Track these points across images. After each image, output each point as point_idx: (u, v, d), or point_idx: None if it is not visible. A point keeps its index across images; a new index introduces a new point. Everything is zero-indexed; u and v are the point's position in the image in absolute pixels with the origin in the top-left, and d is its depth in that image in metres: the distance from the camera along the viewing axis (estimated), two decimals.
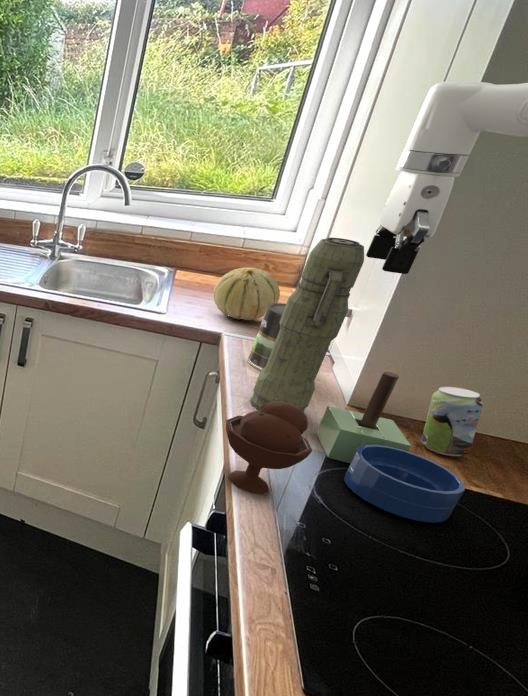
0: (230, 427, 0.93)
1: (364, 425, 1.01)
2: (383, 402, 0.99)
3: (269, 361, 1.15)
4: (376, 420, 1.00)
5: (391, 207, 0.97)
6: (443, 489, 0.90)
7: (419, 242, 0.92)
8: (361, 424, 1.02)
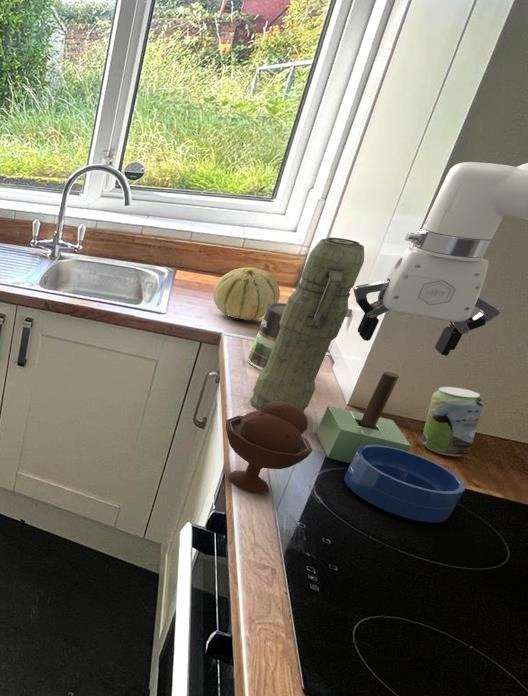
0: (230, 427, 0.93)
1: (364, 425, 1.01)
2: (383, 402, 0.99)
3: (269, 361, 1.15)
4: (376, 420, 1.00)
5: None
6: (443, 489, 0.90)
7: (358, 303, 0.97)
8: (361, 424, 1.02)
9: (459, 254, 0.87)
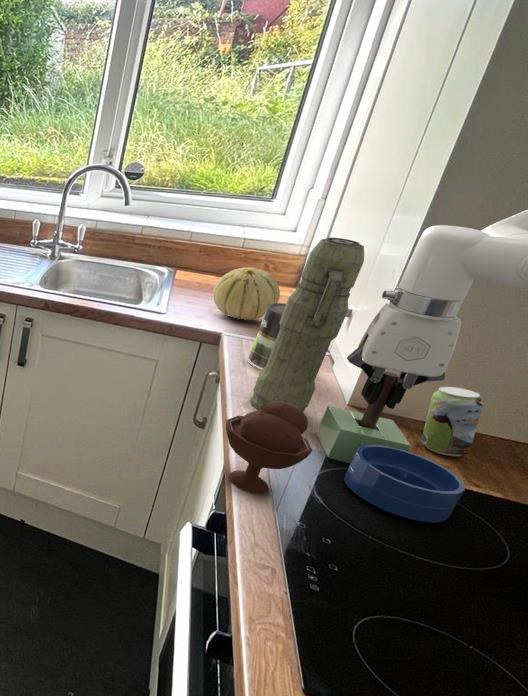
0: (230, 427, 0.93)
1: (364, 425, 1.01)
2: (383, 402, 0.99)
3: (269, 361, 1.15)
4: (376, 420, 1.00)
5: None
6: (443, 489, 0.90)
7: (361, 368, 0.99)
8: (361, 424, 1.02)
9: (433, 314, 0.90)
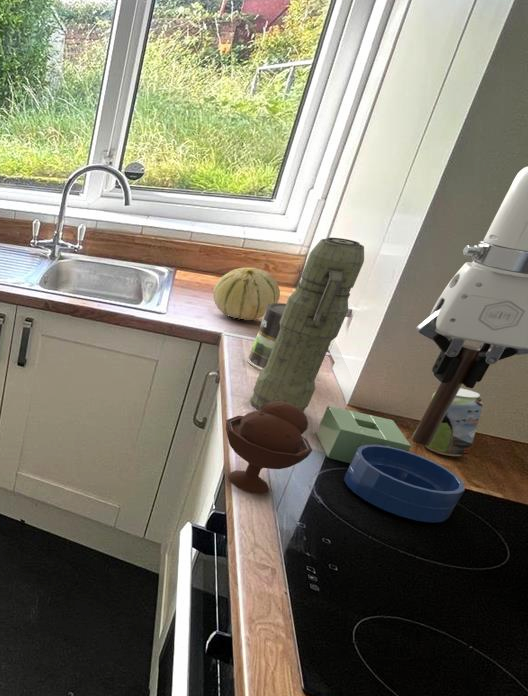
0: (230, 427, 0.93)
1: (435, 408, 0.86)
2: (460, 381, 0.83)
3: (269, 361, 1.15)
4: (450, 402, 0.85)
5: None
6: (443, 489, 0.90)
7: (434, 340, 0.84)
8: (431, 407, 0.86)
9: None
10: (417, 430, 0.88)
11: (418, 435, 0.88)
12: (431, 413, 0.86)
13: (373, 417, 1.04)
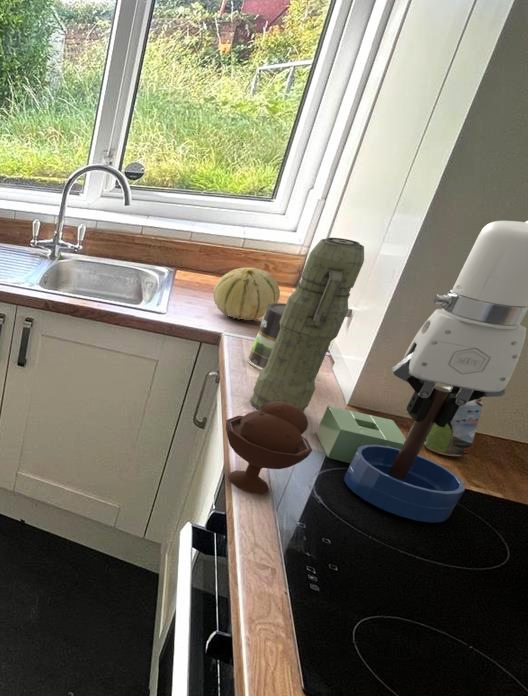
0: (230, 427, 0.93)
1: (409, 445, 0.91)
2: (432, 420, 0.88)
3: (269, 361, 1.15)
4: (423, 440, 0.89)
5: None
6: (443, 489, 0.90)
7: (408, 381, 0.88)
8: (406, 444, 0.91)
9: (494, 322, 0.79)
10: (393, 465, 0.93)
11: (394, 470, 0.93)
12: (406, 449, 0.91)
13: (373, 417, 1.04)
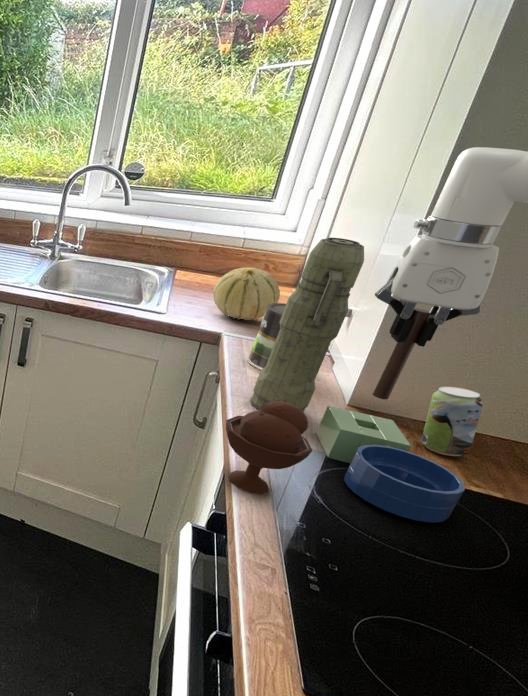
0: (230, 427, 0.93)
1: (392, 366, 0.97)
2: (413, 340, 0.94)
3: (269, 361, 1.15)
4: (405, 360, 0.96)
5: None
6: (443, 489, 0.90)
7: (390, 304, 0.94)
8: (389, 365, 0.97)
9: (469, 241, 0.85)
10: (377, 386, 0.99)
11: (378, 390, 0.99)
12: (389, 370, 0.97)
13: (373, 417, 1.04)
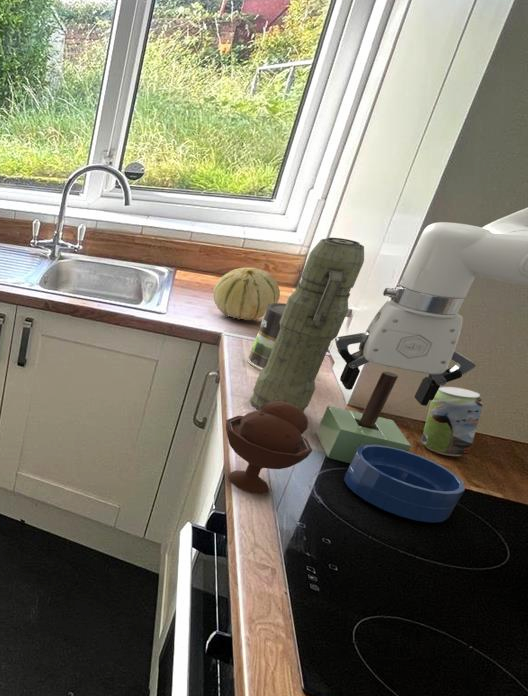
0: (230, 427, 0.93)
1: (363, 425, 1.01)
2: (382, 402, 0.99)
3: (269, 361, 1.15)
4: (375, 420, 1.00)
5: None
6: (443, 489, 0.90)
7: (340, 354, 1.00)
8: (360, 424, 1.02)
9: (434, 311, 0.90)
10: None
11: None
12: None
13: None
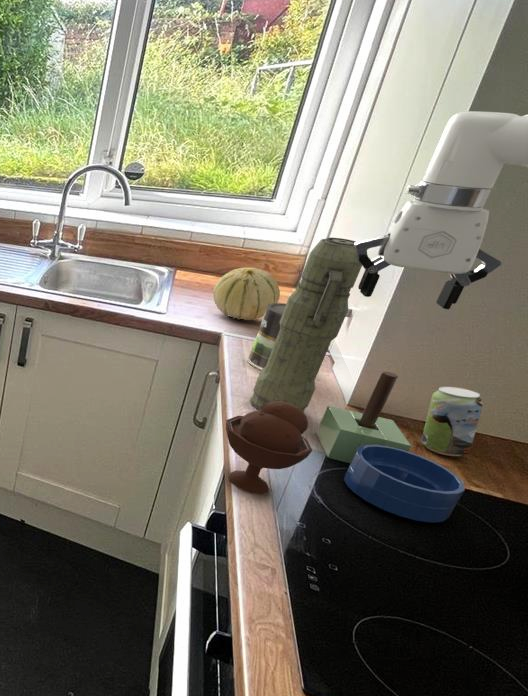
0: (230, 427, 0.93)
1: (363, 425, 1.01)
2: (382, 402, 0.99)
3: (269, 361, 1.15)
4: (375, 420, 1.00)
5: None
6: (443, 489, 0.90)
7: (358, 259, 0.96)
8: (360, 424, 1.02)
9: (459, 204, 0.86)
10: None
11: None
12: None
13: None
